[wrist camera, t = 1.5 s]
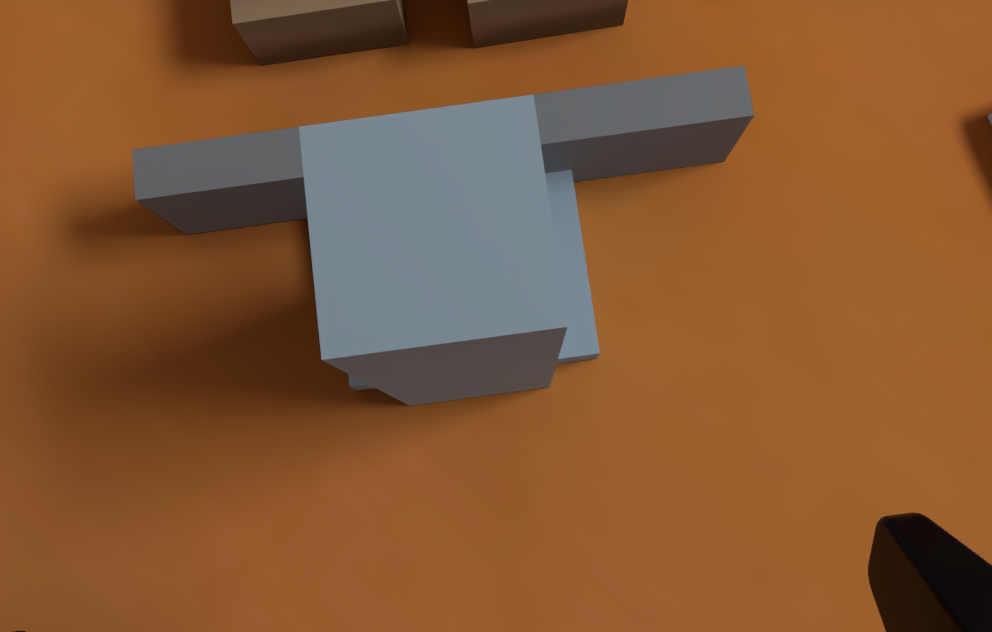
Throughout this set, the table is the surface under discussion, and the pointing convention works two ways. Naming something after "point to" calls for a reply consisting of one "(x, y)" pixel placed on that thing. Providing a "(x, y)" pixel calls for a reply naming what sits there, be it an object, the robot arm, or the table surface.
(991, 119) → the hard drive
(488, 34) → the walnut block
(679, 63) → the table surface
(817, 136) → the table surface
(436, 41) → the table surface
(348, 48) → the walnut block
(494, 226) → the scraper
